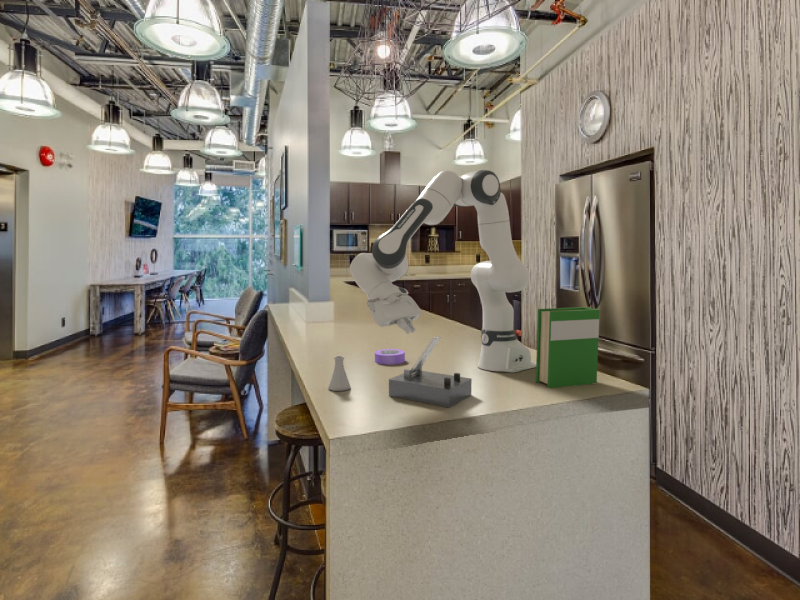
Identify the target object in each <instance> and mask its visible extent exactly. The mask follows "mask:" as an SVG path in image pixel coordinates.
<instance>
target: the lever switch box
mask: <svg viewBox="0 0 800 600" xmlns="http://www.w3.org/2000/svg"><path fill="white" fill-rule="evenodd" d="M388 396H389V397H394V398H397V399H398V398H399V399H403V400H409V401H414V402H419V403H423V404H428V405H433V406H439V407H443V408H448V409H450V408H451V407H453V406H456V405H457V404H458V403H461V402H462V401H465V400H466V399H467V398H469V397H471V396H472V378H471V377H464V376H461V373H460V372H454V374H453V375H451V374H446V373H438V372H432V371H428V370H427V371H426V370H423V366H422V367H421V368H420V369H419V371H418V374H416V375H413V376H411V369H407V368H405V369H404V370H403V373H401V374H398V375H396V376H393V377H391V378H388Z"/></svg>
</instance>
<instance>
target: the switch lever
mask: <svg viewBox="0 0 800 600" xmlns="http://www.w3.org/2000/svg"><path fill="white" fill-rule="evenodd" d="M441 339H442V338H441V336H439V335H438V336H435V337H432V338H431V339H430V341H429V342H428V344H427V345H426V347H425V348H424V350H423V351H422V353H421V354H420V356H419V357H418V359H417V360H416V362H415V363H414V364H413V367H411V369H410V370H411V376H413V375H416V374H418V371H419V369H420V368H421V367H422V368H423V365H424V364H425V362H426V361H427V359H428V358H429V357H430V355H431V353H432V352H433V350H434V349H435V347H436V346H437V344H438V343H439V342H440V341H441Z"/></svg>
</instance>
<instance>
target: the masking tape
mask: <svg viewBox="0 0 800 600" xmlns="http://www.w3.org/2000/svg"><path fill="white" fill-rule="evenodd" d="M405 354H406V352H405V350H403V349H397V348H387V349H386V348H385V349H378V350H376V351H374V362H375V363H376V364H379V365H387V366H388V365H389V366H390V365H400V364H403V363H404V362H406V357H405Z"/></svg>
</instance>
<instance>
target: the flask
mask: <svg viewBox="0 0 800 600" xmlns="http://www.w3.org/2000/svg"><path fill="white" fill-rule="evenodd" d="M333 358H334V368H333V371H332V374H331V377H330V380H329V384H328V388H327V389H328V390H329V391H334V392H340V391H343V392H344V391H347V390H350V389H351V383H350V381H349V379H348V375H347V373H346V372H347V371H346V370H345V365H344V359H345V356H344V355H336V356H335V355H334V356H333Z"/></svg>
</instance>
